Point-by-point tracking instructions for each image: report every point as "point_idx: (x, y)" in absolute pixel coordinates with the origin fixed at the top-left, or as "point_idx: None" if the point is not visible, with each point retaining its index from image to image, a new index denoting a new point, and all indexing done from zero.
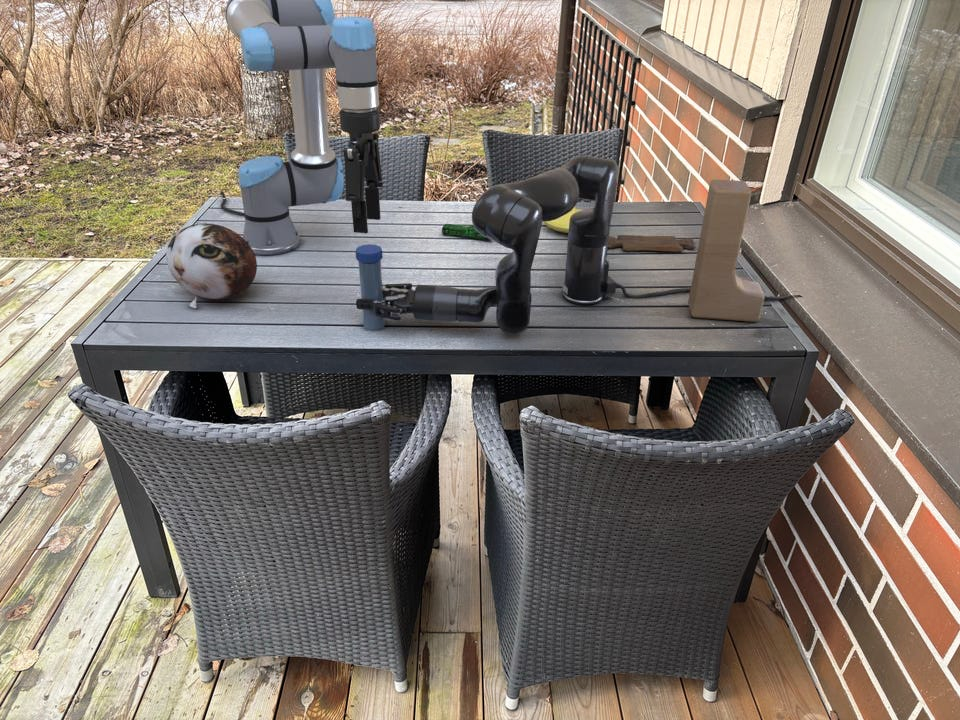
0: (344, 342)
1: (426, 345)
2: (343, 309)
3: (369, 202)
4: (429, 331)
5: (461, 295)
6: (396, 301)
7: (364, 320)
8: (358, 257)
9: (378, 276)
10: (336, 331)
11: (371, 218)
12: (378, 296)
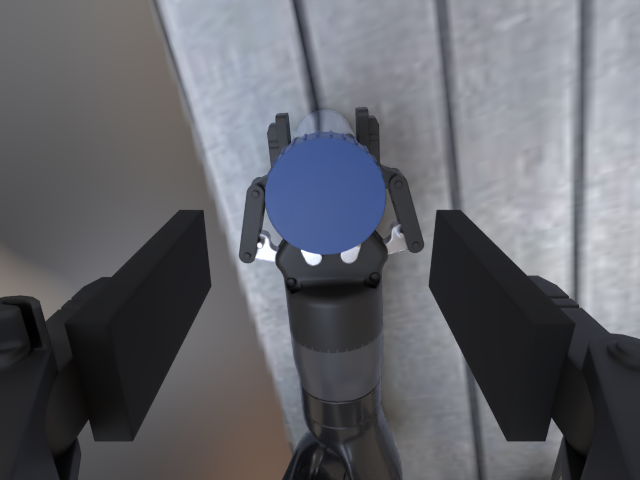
0: (216, 91)
1: (259, 282)
2: (403, 11)
3: (472, 285)
4: None
5: (321, 407)
6: None
7: (300, 123)
8: (274, 160)
9: None
10: (267, 44)
11: (436, 240)
12: None
